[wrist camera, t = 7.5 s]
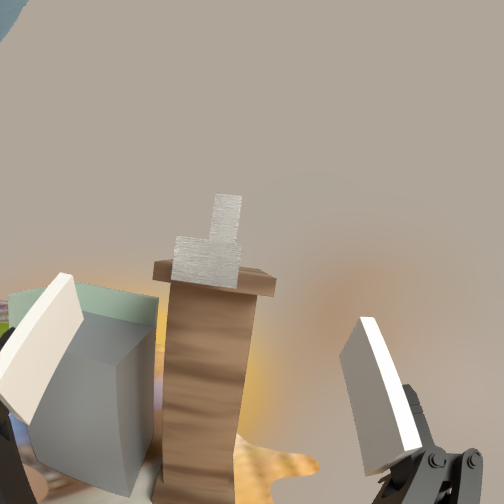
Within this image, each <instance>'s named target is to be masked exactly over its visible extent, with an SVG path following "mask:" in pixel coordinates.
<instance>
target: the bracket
mask: <svg viewBox="0 0 504 504" xmlns="http://www.w3.org/2000/svg"><path fill="white" fill-rule="evenodd" d="M241 201H242V197H241V196H234V195H226V194H219V193H216V196H215V203H214V209H213V215H212V223H211V229H210V236H209V240H205V239H198V238H191V237H183V236H177V237H176V243H175V251H174V258H173V266H172V274H171V280H178V281H184V282H191V283H197V284H204V285H211V286H218V287H226V288H233V289H236V287H237V279H238V272H239V265H240V257H241V251H242V245H241V244H236V237H237V229H238V223H239V216H240V209H241Z"/></svg>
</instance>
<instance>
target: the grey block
mask: <svg viewBox="0 0 504 504" xmlns="http://www.w3.org/2000/svg"><path fill="white" fill-rule="evenodd" d="M81 311H82V310H81ZM82 314H83V318H84V320H83V321H82V323H81V325H80V326H79V328H78V330H77V331H76V333H75V335H74V337H73V338H72V340H71V342H70V344H69V345H68V347H67V349H66V351H65V353H64V354H63V356H62V358H61V360H60V362H59V364H58V366H57V368H56V369H55V371H54V373H53V375H52V377H51V379H50V381H49V383H48V385H47V387H46V389H45V391H44V394H43V396H42V398H41V400H40V402H39V404H38V406H37V409H36V411H35V413H34V415H33V418H32V420H31V422H30V425H28V424H26V427H27V430H28V434H29V437H30V440H31V443H32V446H33V449H34V452H35V455H36V458H37V460H38V461H39V462H40V463H42V464H44V465H46V466H48V467H50V468H52V469H54V470H56V471H59V472H61V473H63V474H65V475H67V476H70V477H72V478H74V479H77V480H79V481H82V482H84V483H87V484H89V485H92V486H95V487H97V488H100V489H103V490H106V491H109V492H112V493H115V494H119V495H122V496H125V497H129V498H130V495H131V492H132V490H133V487H134V484H135V481H136V479H137V476H138V474H139V471H140V468H141V466H142V463H143V460H144V458H145V455H146V453H147V450H148V447H149V445H150V442H151V440H152V437H153V435H154V421H153V397H154V361H155V341H156V326H149V325H144V324H139V323H134V322H130V321H125V320H120V319H116V318H111V317H107V316H103V315H98V314H94V313H90V312H86V311H82Z"/></svg>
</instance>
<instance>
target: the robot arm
mask: <svg viewBox="0 0 504 504" xmlns="http://www.w3.org/2000/svg"><path fill="white" fill-rule="evenodd" d="M27 2H28V0H0V42H1V41H2V39H3V38H4V37H5V36H6V35H7V33H8V32H9V30H10V29H11V28H12V26H13V25H14V23H15V21H16V20H17V18H18V16H19V14H20V12H21V10H22V8H23V7H24V6H25V5H26V3H27ZM83 320H84V318H83V314H82V311H81V307H80V303H79V300H78V296H77V292H76V288H75V284H74V280H73V276H72V275H69V274H65V273H59V274H58V276H57V277H56V278H55V279H54V280H53V281H52V283H51V284H50V285H49V286H48V287H47V289H46V290H45V291H44V292H43V294H42V295H41V296H40V297H39V299H38V300H37V301H36V302H35V304H34V305H33V306H32V308H31V309H30V310H29V311H28V313H27V314H26V315H25V317H24V318H23V319H22V321H21V322H20V324H19V325H18V326H17V328H14V327H11V328H10V329H9V330H7V331H6V332H5V333H4V334H3V335H2V336H1V338H0V504H37V502H36V499H35V497H34V494H33V492H32V490H31V487H30V484H29V482H28V479H27V476H26V474H25V471H24V468H23V465H22V462H21V459H20V455H19V452H18V448H17V445H16V441H15V437H14V433H13V429H12V425H11V421H10V418H9V416H8V414H9V412H11V413H12V414H13V415H14V416H15V417H16V418H17V419H19V420H20V421H22V422H24V423H26V424H28V425H30V422H31V420H32V418H33V415H34V413H35V411H36V409H37V406H38V404H39V402H40V400H41V398H42V396H43V394H44V391H45V389H46V387H47V385H48V383H49V381H50V379H51V377H52V375H53V373H54V371H55V369H56V368H57V366H58V364H59V362H60V360H61V358H62V356H63V354H64V353H65V351H66V349H67V347H68V345H69V344H70V342H71V340H72V338H73V337H74V335H75V333H76V331H77V330H78V328H79V326H80V325H81V323H82V321H83ZM339 358H340V362H341V366H342V370H343V374H344V378H345V382H346V386H347V390H348V394H349V398H350V403H351V407H352V412H353V416H354V421H355V425H356V430H357V435H358V439H359V444H360V449H361V454H362V459H363V465H364V470H365V475H366V476H370V475H375V474H380V473H383V472H384V471H386V470H388V469H389V468H390V471H391V473H390V474H388V475H387V476H385V477H383V478H381V479H380V481H378V483H381V482H383V481H385V482H384V484H383V486H382V487H381V490H380V491H379V493H378V494H377V496H376V498H375V499H374V501H373V503H372V504H480V496H481V486H482V472H483V458H482V456H481V453H480V452H479V451H478V450H477V449H474V448H471V449H468V450H467V451H465V452H464V453H462V454H449V453H446V452H445V450H443V449H442V448H440V447H437V446H435V444H434V442H433V439H432V436H431V433H430V430H429V427H428V424H427V421H426V418H425V416H424V414H423V410H422V407H421V406H420V402H419V399H418V397H417V394H416V392H415V391H414V390H413V389H412V388H411V386H410V385H409V384H407V385H401V382H400V379H399V377H398V375H397V372H396V369H395V367H394V364H393V361H392V359H391V356H390V354H389V352H388V349H387V347H386V344H385V342H384V339H383V337H382V335H381V333H380V330H379V328H378V326H377V323H376V321H375V319H374V318H370V317H360V318H359V319H358V322H357V323H356V326H355V327H354V329H353V331H352V333H351V335H350V337H349V339H348V341H347V342H346V344H345V346H344V348H343V350H342V352H341V353H340V355H339ZM450 488H452V490H451V494H450V493H449V490H450Z"/></svg>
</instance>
